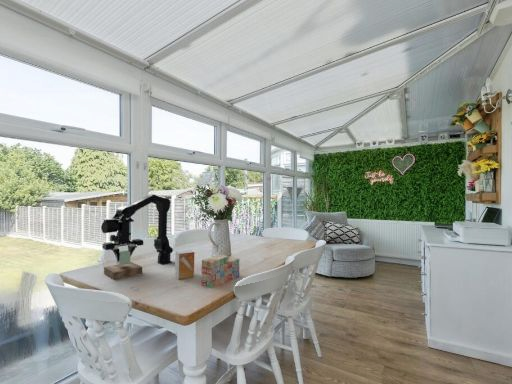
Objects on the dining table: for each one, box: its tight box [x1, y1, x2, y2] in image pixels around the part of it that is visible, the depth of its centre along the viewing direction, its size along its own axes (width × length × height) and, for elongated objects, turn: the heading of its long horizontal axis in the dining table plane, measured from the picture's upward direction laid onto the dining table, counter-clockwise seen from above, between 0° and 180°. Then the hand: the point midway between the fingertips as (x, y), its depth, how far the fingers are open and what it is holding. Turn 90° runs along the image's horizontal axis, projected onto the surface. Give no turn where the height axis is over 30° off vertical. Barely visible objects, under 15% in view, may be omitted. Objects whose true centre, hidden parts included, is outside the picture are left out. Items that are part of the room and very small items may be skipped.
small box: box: [174, 249, 196, 280], centre depth 133 cm, size 8×6×13 cm
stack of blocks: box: [201, 254, 240, 289], centre depth 128 cm, size 21×6×12 cm, turn 147°
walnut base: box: [103, 261, 143, 281], centre depth 136 cm, size 14×14×4 cm
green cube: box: [116, 250, 131, 265], centre depth 136 cm, size 5×5×6 cm
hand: (123, 260), depth 137 cm, fingers closed on green cube, 5 cm apart
